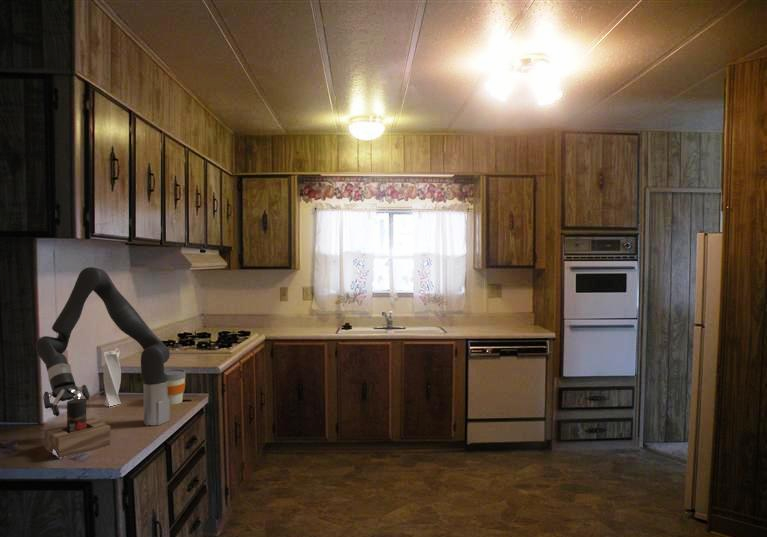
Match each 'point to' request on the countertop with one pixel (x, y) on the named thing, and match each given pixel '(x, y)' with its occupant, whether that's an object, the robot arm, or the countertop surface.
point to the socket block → (77, 438)
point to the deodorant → (76, 415)
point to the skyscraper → (112, 377)
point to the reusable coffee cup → (175, 385)
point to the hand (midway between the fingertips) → (71, 412)
